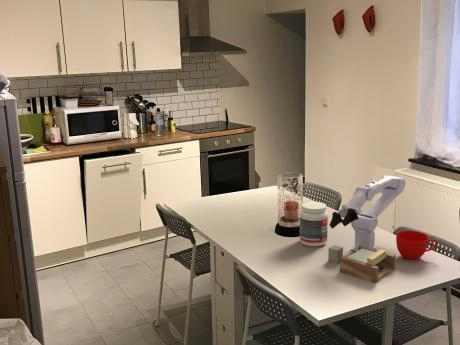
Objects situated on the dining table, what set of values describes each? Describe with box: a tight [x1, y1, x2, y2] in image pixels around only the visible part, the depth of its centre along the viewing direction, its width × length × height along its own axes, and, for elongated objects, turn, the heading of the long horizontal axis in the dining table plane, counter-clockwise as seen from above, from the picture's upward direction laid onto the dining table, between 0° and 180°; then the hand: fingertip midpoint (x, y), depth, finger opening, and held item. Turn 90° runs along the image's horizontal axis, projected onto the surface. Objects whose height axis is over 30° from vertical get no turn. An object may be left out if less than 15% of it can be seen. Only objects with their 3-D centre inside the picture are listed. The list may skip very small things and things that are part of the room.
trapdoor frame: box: [339, 246, 396, 284], centre depth 210 cm, size 17×16×6 cm
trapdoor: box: [346, 249, 387, 266], centre depth 209 cm, size 12×11×3 cm
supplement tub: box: [299, 201, 329, 247], centre depth 239 cm, size 13×13×18 cm
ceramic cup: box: [395, 230, 439, 262], centre depth 220 cm, size 13×17×10 cm
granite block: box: [327, 244, 344, 264], centre depth 220 cm, size 4×4×6 cm
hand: (337, 225), depth 213 cm, fingers open, 7 cm apart
